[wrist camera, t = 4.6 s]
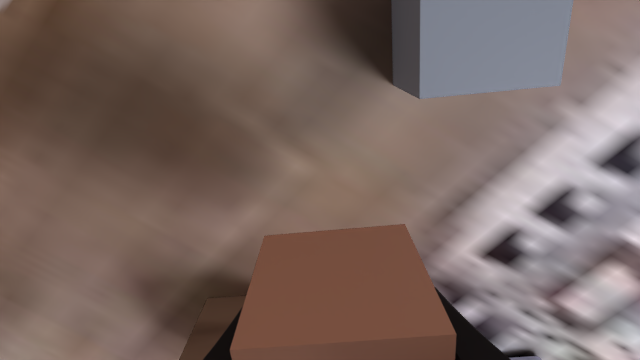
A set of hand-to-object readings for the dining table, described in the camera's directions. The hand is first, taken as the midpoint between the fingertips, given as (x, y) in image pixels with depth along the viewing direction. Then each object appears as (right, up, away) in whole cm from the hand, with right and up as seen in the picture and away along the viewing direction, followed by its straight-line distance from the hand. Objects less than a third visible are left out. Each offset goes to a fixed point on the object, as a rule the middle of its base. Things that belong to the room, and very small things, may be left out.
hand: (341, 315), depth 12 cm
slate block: (+5, +12, +4) cm, 14 cm away
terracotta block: (0, +1, +1) cm, 2 cm away
